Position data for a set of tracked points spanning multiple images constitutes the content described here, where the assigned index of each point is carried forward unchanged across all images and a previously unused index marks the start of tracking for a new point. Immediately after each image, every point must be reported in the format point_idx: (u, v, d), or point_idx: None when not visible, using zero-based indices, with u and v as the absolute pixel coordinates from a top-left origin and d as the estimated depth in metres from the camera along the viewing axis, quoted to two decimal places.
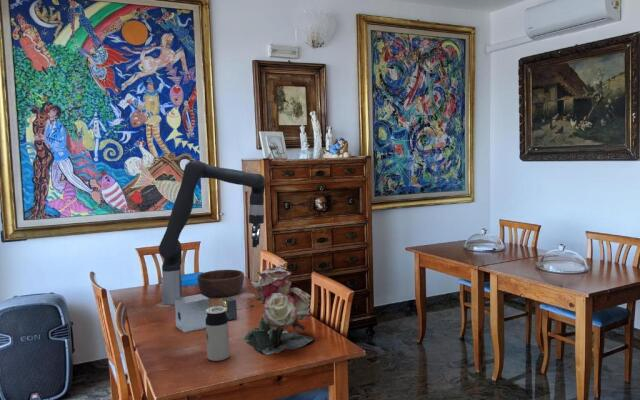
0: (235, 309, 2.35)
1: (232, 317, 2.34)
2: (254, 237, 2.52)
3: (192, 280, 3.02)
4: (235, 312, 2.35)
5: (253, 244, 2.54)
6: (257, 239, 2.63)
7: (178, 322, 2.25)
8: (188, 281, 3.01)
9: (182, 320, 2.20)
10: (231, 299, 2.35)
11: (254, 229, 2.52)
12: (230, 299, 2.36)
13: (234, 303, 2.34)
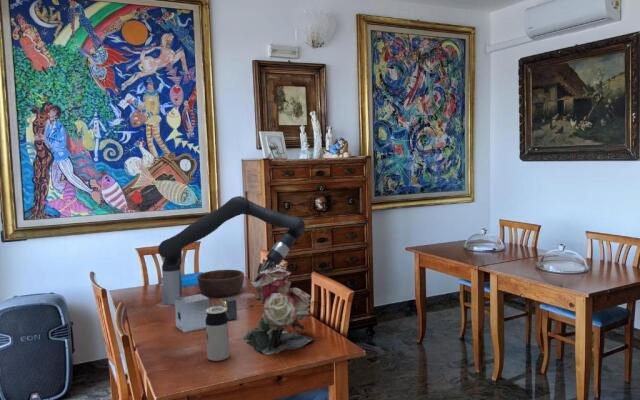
0: (235, 309, 2.35)
1: (232, 317, 2.34)
2: None
3: (192, 280, 3.02)
4: (235, 312, 2.35)
5: None
6: None
7: (178, 322, 2.25)
8: (188, 281, 3.00)
9: (182, 320, 2.20)
10: (231, 299, 2.35)
11: None
12: (230, 299, 2.36)
13: (234, 303, 2.34)
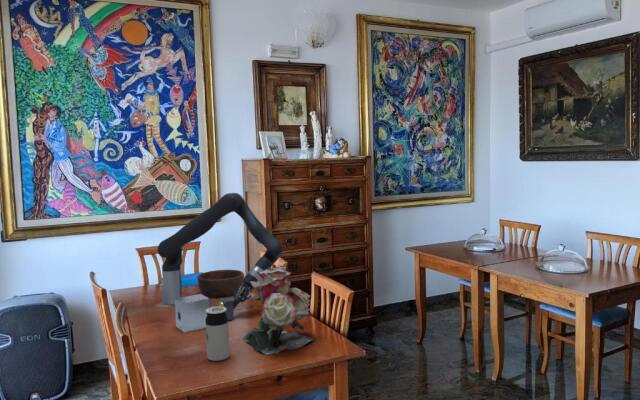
0: (232, 310, 2.34)
1: (229, 318, 2.33)
2: (241, 301, 2.36)
3: (192, 280, 3.01)
4: (232, 313, 2.34)
5: (234, 305, 2.36)
6: None
7: (178, 322, 2.25)
8: (188, 281, 3.00)
9: (182, 320, 2.20)
10: (228, 300, 2.34)
11: (247, 296, 2.35)
12: (227, 300, 2.35)
13: (231, 304, 2.33)
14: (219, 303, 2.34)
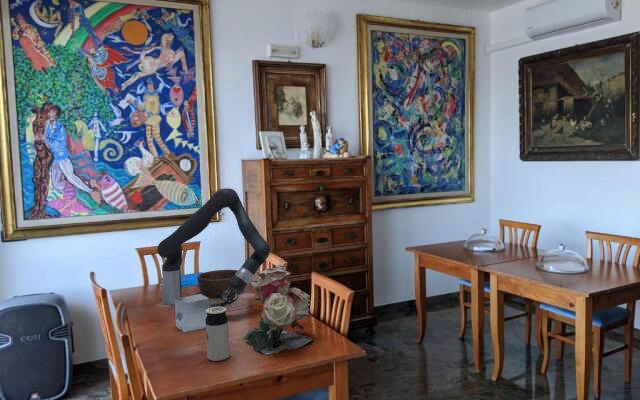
0: None
1: None
2: (228, 303, 2.32)
3: (192, 280, 3.01)
4: None
5: None
6: None
7: (178, 322, 2.25)
8: (188, 281, 3.00)
9: (182, 320, 2.20)
10: (214, 302, 2.31)
11: (233, 299, 2.31)
12: (213, 302, 2.31)
13: (217, 306, 2.30)
14: None
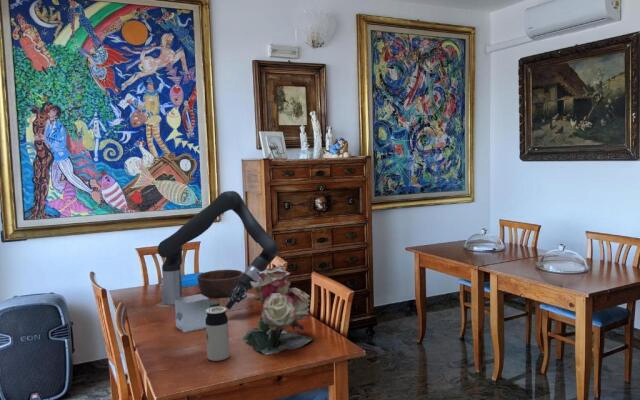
0: None
1: None
2: (237, 301, 2.34)
3: (192, 280, 3.01)
4: None
5: (230, 305, 2.34)
6: None
7: (178, 322, 2.25)
8: (188, 281, 3.00)
9: (182, 320, 2.20)
10: (214, 302, 2.31)
11: (242, 296, 2.33)
12: (213, 302, 2.31)
13: (217, 306, 2.30)
14: None
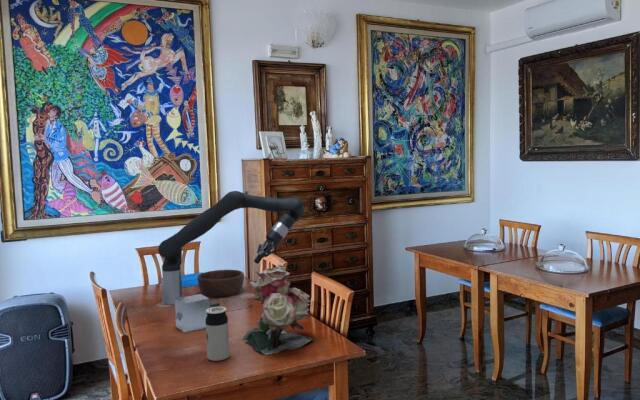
0: None
1: None
2: (265, 255, 2.41)
3: (192, 280, 3.01)
4: None
5: (258, 259, 2.41)
6: None
7: (178, 322, 2.25)
8: (188, 281, 3.00)
9: (182, 320, 2.20)
10: (214, 302, 2.31)
11: (270, 251, 2.40)
12: (213, 302, 2.31)
13: (217, 306, 2.30)
14: None
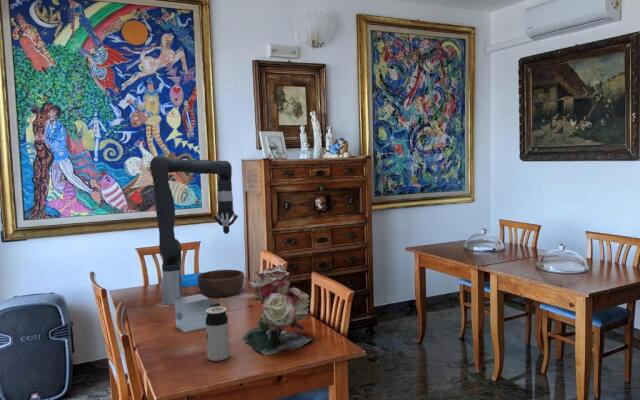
0: None
1: None
2: None
3: (192, 281, 3.01)
4: None
5: (228, 230, 2.65)
6: None
7: (178, 322, 2.25)
8: (188, 282, 2.99)
9: (182, 320, 2.20)
10: (214, 302, 2.31)
11: (236, 218, 2.64)
12: (213, 302, 2.31)
13: (217, 306, 2.30)
14: None
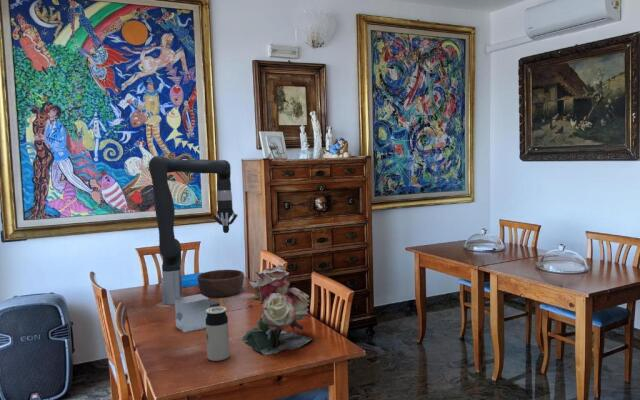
0: None
1: None
2: (231, 223, 2.65)
3: (192, 281, 3.00)
4: None
5: (228, 229, 2.65)
6: None
7: (178, 322, 2.25)
8: (188, 282, 2.99)
9: (182, 320, 2.20)
10: (214, 302, 2.31)
11: (235, 217, 2.64)
12: (213, 302, 2.31)
13: (217, 306, 2.30)
14: None
